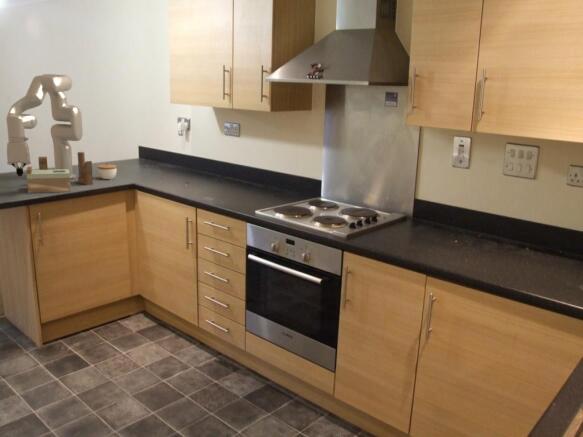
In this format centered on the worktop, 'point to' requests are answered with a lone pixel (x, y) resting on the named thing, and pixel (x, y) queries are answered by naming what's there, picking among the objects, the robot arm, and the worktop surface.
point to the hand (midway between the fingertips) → (20, 175)
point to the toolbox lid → (47, 173)
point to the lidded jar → (107, 171)
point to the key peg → (42, 163)
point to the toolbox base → (48, 185)
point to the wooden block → (84, 170)
